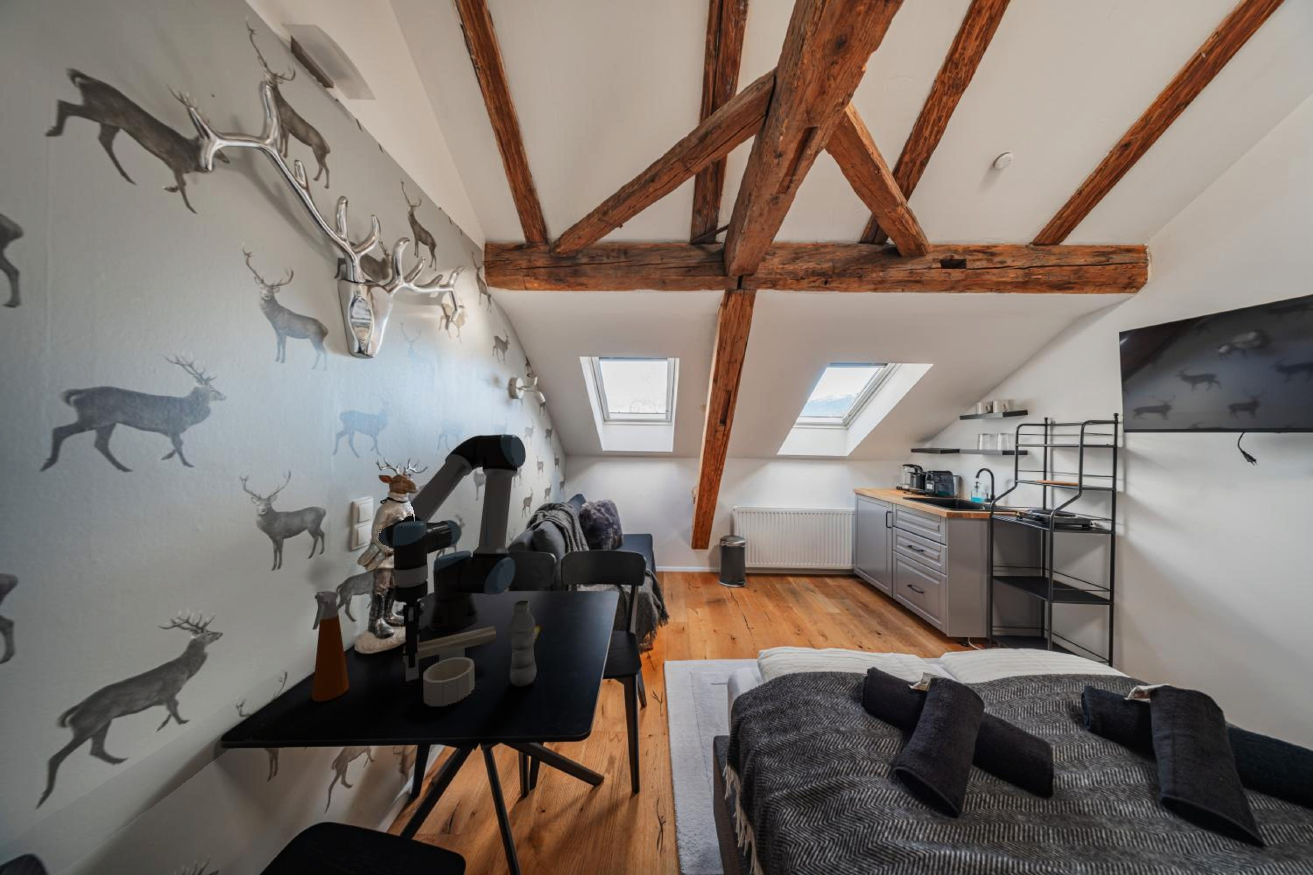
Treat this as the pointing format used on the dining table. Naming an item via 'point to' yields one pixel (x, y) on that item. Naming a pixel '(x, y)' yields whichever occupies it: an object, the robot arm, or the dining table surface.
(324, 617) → the spray bottle
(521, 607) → the plastic bottle
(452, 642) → the cover board
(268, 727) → the dining table surface
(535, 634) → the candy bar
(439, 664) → the oval ring
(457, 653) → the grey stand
